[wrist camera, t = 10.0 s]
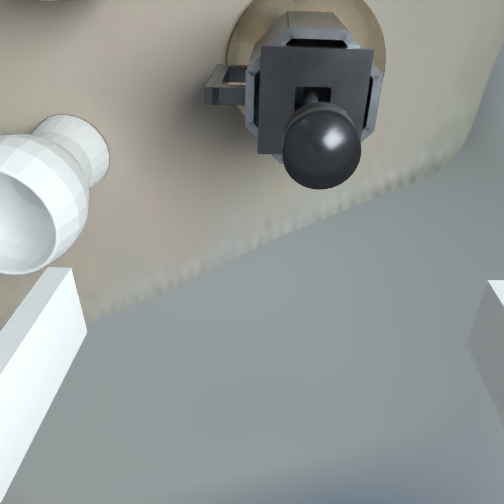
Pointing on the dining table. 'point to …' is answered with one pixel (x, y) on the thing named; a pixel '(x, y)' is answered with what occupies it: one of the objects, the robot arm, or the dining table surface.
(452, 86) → the dining table surface
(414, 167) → the dining table surface
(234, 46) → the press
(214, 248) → the dining table surface
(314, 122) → the black knob on rod
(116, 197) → the dining table surface
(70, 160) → the cup
